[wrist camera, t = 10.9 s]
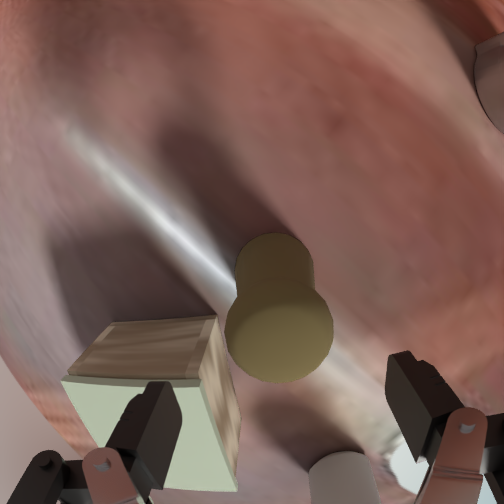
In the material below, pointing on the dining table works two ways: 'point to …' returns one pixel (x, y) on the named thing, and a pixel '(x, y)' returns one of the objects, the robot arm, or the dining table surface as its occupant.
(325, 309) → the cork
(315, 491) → the can
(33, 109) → the dining table surface
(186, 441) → the lid
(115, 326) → the box
